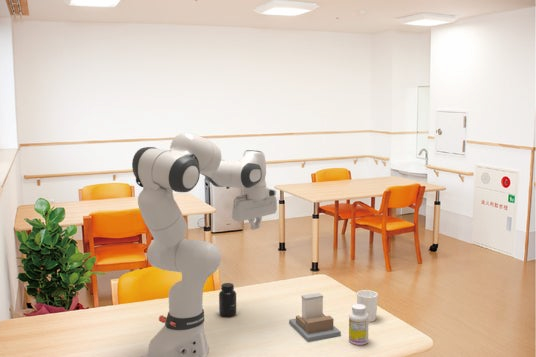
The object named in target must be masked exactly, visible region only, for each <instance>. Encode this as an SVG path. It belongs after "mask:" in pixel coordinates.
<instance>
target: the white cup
mask: <svg viewBox="0 0 536 357" xmlns="http://www.w3.org/2000/svg"><path fill="white" fill-rule="evenodd" d="M378 296H379V293H378V292H377V291H374V290H370V289H363V290H359V291H357V292H356V304H362V305H365V306H366V311H365V312H366V313H367V314H368V317H369V319H368V323H372V322H374V321H376V320H377V312H378V311H377V310H378V298H379V297H378Z"/></svg>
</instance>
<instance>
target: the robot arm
mask: <svg viewBox="0 0 536 357" xmlns="http://www.w3.org/2000/svg"><path fill="white" fill-rule="evenodd" d="M242 155H243V157H242V158H241V159H240V160H238V161H237V160H226V159H222V152H221V149H220V148H219V146H218V145H216V143H214V142H212V141H211V140H209V139H207V138H205V137H202V136H200V135H197V134H193V133H189V132H183V133H182V132H181V133H179V134H178V135H176V136H175V137H174V138H173V139H172V140H171V143H170V148H169V150H168V149H164V148H163V149H161V148H157V147H155V146H146V147H142V148H140V149H138V150H137V151H136V152H135V154H134V155H133V158H132V163H131V166H132V173H133V175H134V178H135V182H136V184H137V185H138V186H139V187H141V188H142V190H141V191H140V193H139V195H138V196H137V205H138V209H139V212H140V214H141V217H142V219H143V222H144V223H145V226H146V227H147V229H148V231H149V233H150V235H151V236H152V238H153V240H152V241H151V242H150V244H149V245H148V248H147V252H146V255H147V256H146V257H147V260H148V263H149V264H150V266H152V267H154V268H157V269H160V270H163V271H167V272H174V273H180V274H181V280H179V281H177V282H176V283H174V284H173V285H171V287H170V289H169V290H168V295H167V296H168V312H167V316H164V315H160V316H159V317H158V321H159V322H161V323H162V324H163V323H164V325H163V326H162V327H161V329H160V330H159V331H158V332H157V333H156V335H154V336H153V338H152V339H151V340H150V341H149V344H148V350H147V353H144V354H143V355H141V357H207V355H208V353H209V350H210V348H209V345H208V343H207V338H206V333H205V328H204V327H205V325H204V322H205V311H204V308H203V293H204V286H205V284H206V282H207V280H208V279H209V277H211V275H213V274H214V273H215V272H216V271H217V270H218V269H219V267H220V266H221V261H222V253H221V250H220V248H219V246H218V245H217V244H214V243H212V242H208V241H205V240H200V239H190V238H185V237H186V235H187V233H188V223H187V221H186V219H185V217H184V215H183V213H182V211H181V209H180V207H179V205H178V203H177V202H176V200H175V199H174V194H173V193H174V192H177V193H188V192H190V191H192V190H193V189H194V188H195V187H197V185H198V183H199V180H200V178H201V177H200V176H201V175H203V176H204V177H205V178H207V179H208V180H209V182H210V183H211V185H213V186H214V187H217V188H225V187H226V188H237V189H242V195H238V196H236V197H235V198H234V199H233V205H232V210H231V211H232V213H231V216H232V217H231V218H232V220H233V221H234V222H244V221H248V222H249V224H250V230H257V229H260V228H261V227H260V224H261V222H262V220H263V217H265V216H271V215H274V214H276V212H277V209H278V206H277V205H278V204H277V197H276V195H277V190H275V189H272V188H268V187H267V182H266V175H267V163H266V156H265V154H264V152H262V151H261V150H254V149H253V150H249V149H248V150H244V151H243V154H242Z"/></svg>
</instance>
